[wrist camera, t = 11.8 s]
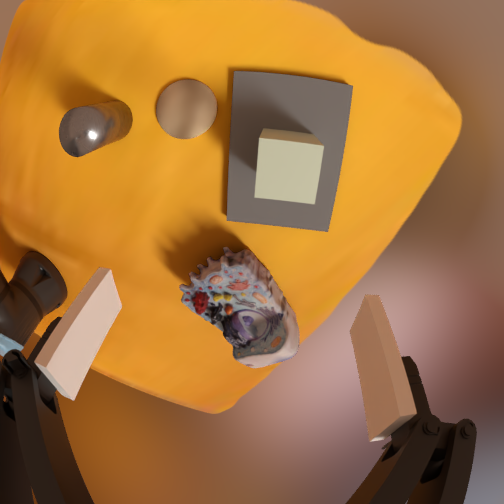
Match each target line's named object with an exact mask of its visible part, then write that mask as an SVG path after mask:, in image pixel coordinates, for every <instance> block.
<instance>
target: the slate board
mask: <svg viewBox="0 0 504 504" xmlns="http://www.w3.org/2000/svg"><path fill="white" fill-rule="evenodd" d="M352 90H353V86H351V85H347V84H342V83H337V82H332V81H327V80H321V79H315V78H309V77H302V76H294V75H286V74H276V73H264V72H248V71H234V81H233V96H232V112H231V130H230V149H229V172H228V198H227V221H235V222H245V223H255V224H264V225H273V226H282V227H291V228H300V229H308V230H317V231H325V232H328V229H329V224H330V220H331V215H332V211H333V206H334V201H335V196H336V191H337V186H338V181H339V176H340V170H341V165H342V159H343V153H344V147H345V141H346V134H347V128H348V121H349V114H350V106H351V98H352ZM263 128H266V129H276V130H285V131H294V132H301V133H308V134H314V135H315V136H316V137H317V139H318V140H319V141H320V142H321V143H322V144H323V145H324V150H323V157H322V163H321V169H320V176H319V182H318V188H317V194H316V199H315V204H308V203H300V202H291V201H283V200H274V199H264V198H255V184H256V172H257V159H258V147H259V137H260V135H261V133H262V131H263Z"/></svg>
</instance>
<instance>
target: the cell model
mask: <svg viewBox="0 0 504 504" xmlns="http://www.w3.org/2000/svg"><path fill="white" fill-rule="evenodd" d="M223 250H224V253H225V256H224V255H223V256H221V258H220V259H218V260H214V259H212V258H211V257H208V258H207V263H208V267H205V266H203V265H202V264H199V265H197V268H198V269H199V270H200V273H201V274H200V275H198V274H196V273H194V272H192V271H191V272H190V273H189V276H190V279H191V281H192V283H191V284H190V286H187V285H184V284H181V285H179V286H180V290H181V291H183V292H184V294H183V296H182V299H181V302H182V303H184V304H185V305H186V306H187V307H189V308H190V310H191V311H193V312H194V313H196V314H198V315H199V316H201V317H203V318H204V319H205V320H206V321H210V323H211V324H212V325H215V326H216V327H217V328H218V329H220V330H221V331H223V336H224V337H225V339H226V340H227V341H228V342H229V343H230V344H232V345H233V356H234V358H235V360H237V361H239V362H240V363H242V364H244V365H246V366H248V367H251V368H259V367H264V366H267V365H271V364H275V363H278V362H282V361H285V360H288V359H290V358H292V357H293V356H294V355H295V354H296V353H297V351H298V348H299V328H298V324H297V320H296V314H295V312H294V311H293V310H292V308H291V307H290V306H289V304H288V303H287V300H286V298H285V297H284V296H283V292H282V291H281V290H280V289H279V288H278V286H277V284H276V282H275V281H274V279H273V276H272V275H271V274H270V272H269V270H268V269H266V268H265V267H264V266H263V265H262V264H261V263H260V262H259V261H258V260H257V258H256V257H255V255H254V254H253V253H252V252H251V251H250V250H248V249H245V250H242V251H240V252H238V253H233V252H232V251H231V250H230V249H229V248H228V247H224V248H223Z"/></svg>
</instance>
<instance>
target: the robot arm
mask: <svg viewBox="0 0 504 504" xmlns="http://www.w3.org/2000/svg"><path fill="white" fill-rule="evenodd" d="M66 298H67V288H66V285H65V282H64V280H63V278H62V276H61V275H60V273H59V272H58V270H57V269H56V268H55V266H54V265H53V264H52V263H51V262H50V261H49V260H48V259H47V258H46V257H44V256H43V255H41V254H39V253H37V252H33V251H31V252H28V253H27V254H26V255H25V256H24V257H23V258H22V259H21V261H20V263H19V265H18V267H17V269H16V271H15V273H14V276H13V278H12V279H11V281H10V282H9V283H8V282H7V280H6V279H5V277H4V275H3V273H2V271H1V270H0V354H1V355H2V356H4V357H3V359H2V362H1V361H0V504H34V501H33V495H32V489H33V492H34V495H35V498H36V500H37V503H38V504H94V502H93V500H92V498H91V496H90V494H89V492H88V490H87V487H86V485H85V483H84V480H83V478H82V476H81V473H80V471H79V468H78V466H77V463H76V460H75V458H74V455H73V452H72V449H71V446H70V443H69V440H68V437H67V434H66V430H65V427H64V423H63V420H62V416H61V412H60V408H59V404H58V399H57V396H56V394H55V391H56V390H58V391H59V392H60V393H61V394H62V395H63V396H65V397H67V398H69V399H72V400H74V399H75V397H76V395H77V393H78V391H79V388H80V386H81V384H82V382H83V380H84V378H85V376H86V374H87V372H88V370H89V368H90V365H91V363H92V361H93V360H94V358H95V356H96V354H97V352H98V350H99V348H100V346H101V344H102V342H103V340H104V338H105V337H106V335H107V333H108V331H109V329H110V327H111V326H112V324H113V322H114V320H115V318H116V317H117V315H118V313H119V311H120V310H121V308H122V305H121V302H120V299H119V296H118V292H117V289H116V286H115V283H114V279H113V276H112V272H111V269H107V268H100V267H99V269H98V270H97V271H96V272H95V274H94V275H93V276H92V277H91V279H90V280H89V281H88V283H87V284H86V285H85V287H84V288H83V289H82V291H81V292H80V293H79V295H78V296H77V297H76V299H75V300H74V302H73V303H72V304H71V306H70V307H69V309H68V310H67V311H66V313H65V314H64V316H63V317H57V318H56V319H55V320H54V321H52V322H51V323H50V325H49V326H48V328H47V329H46V332H44V334H43V335H42V338H40V340H39V342H38V343H37V345H36V346H35V348H34V349H33V351H32V353H31V354H30V356H29V358H28V359H27V360H26V358H25V357H24V356H23V354H22V353H21V352H20V351H21V350H22V349H23V348H24V345H25V344H26V342H27V341H28V339H29V337H30V336H31V334H32V333H33V332H34V330H35V329H36V327H37V326H38V324H39V323H40V321H41V320H42V319H43V317H44V316H46V315H47V314H49V313H50V312H52V311H54V310H55V309H56V308H58V307H60V306H61V305H62V304H63V302H64V301H65V300H66ZM350 334H351V339H352V344H353V348H354V352H355V358H356V362H357V368H358V373H359V378H360V384H361V389H362V395H363V401H364V407H365V414H366V421H367V428H368V435H369V441H377V440H383V439H386V438H387V437H388V436H390V435H391V438H392V440H391V441H390V442H388V443H387V444H386V445H384V447H382V449H385V448H386V449H385V451H384V452H383V454H382V456H381V457H380V458H379V460H378V461H377V463H376V464H375V466H374V467H373V469H372V470H371V472H370V473H369V474H368V476H367V477H366V478H365V480H364V481H363V483H362V484H361V485H360V486H359V488H358V489H357V490H356V492H355V493H354V494H353V495H352V497H351V498H350V499H349V500H348V501H347V503H346V504H405V503H406V502H407V500H408V502H407V504H463V503H464V499H465V495H466V492H467V488H468V483H469V478H470V474H471V469H472V463H473V457H474V450H475V442H476V433H477V432H476V427H475V424H474V423H473V422H472V421H471V420H469V419H463V420H461V421H459V422H458V423H457V424H452V423H444V422H441V421H440V420H439V418H437V417H436V416H435V415H432V414H431V411H430V408H429V405H428V401H427V397H426V394H425V391H424V387H423V384H422V381H421V378H420V376H419V371H418V368H417V366H416V364H415V362H414V361H413V360H412V359H411V357H410V356H406V357H401V355H400V352H399V350H398V346H397V343H396V340H395V337H394V334H393V332H392V329H391V326H390V324H389V321H388V318H387V315H386V313H385V310H384V307H383V305H382V302H381V300H380V297H379V295H365V297H364V299H363V302H362V305H361V307H360V309H359V312H358V314H357V316H356V319H355V321H354V323H353V325H352V327H351V330H350ZM4 396H5V397H6V401H5V402H4V401H3V398H4ZM31 486H32V489H31ZM408 498H409V499H408Z"/></svg>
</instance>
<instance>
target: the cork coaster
mask: <svg viewBox="0 0 504 504" xmlns="http://www.w3.org/2000/svg"><path fill="white" fill-rule="evenodd" d="M156 113H157V119H158V122H159V124H160V126H161V127H162V128H163V130H164V131H165V132H167V133H168V134H169V135H171V136H173V137H176V138H179V139H190V138H194V137H197V136H199V135H201V134H203V133H204V132H206V131H207V130H208V129H209V128H210V127H211V125H212V124H213V122H214V120H215V118H216V114H217V101H216V98H215V95H214V93H213V92H212V90H211V89H210V88H209V87H208V86H207V85H205V84H204V83H202V82H199V81H196V80H180V81H177V82H174V83H173V84H171V85H169V86H168V87H167V88H166V89H165V90H164V91H163V92H162V94H161V95H160V97H159V99H158V103H157V108H156Z"/></svg>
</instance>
